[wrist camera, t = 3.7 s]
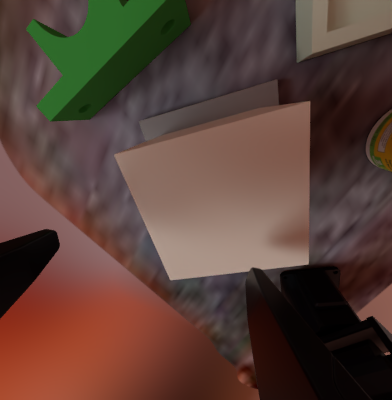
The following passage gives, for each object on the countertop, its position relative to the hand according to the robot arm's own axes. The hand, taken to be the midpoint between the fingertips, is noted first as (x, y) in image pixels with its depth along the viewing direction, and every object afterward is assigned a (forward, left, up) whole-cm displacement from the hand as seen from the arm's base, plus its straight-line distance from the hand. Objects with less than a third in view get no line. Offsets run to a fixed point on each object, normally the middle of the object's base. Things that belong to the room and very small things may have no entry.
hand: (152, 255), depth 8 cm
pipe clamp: (+11, +2, -11) cm, 16 cm away
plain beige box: (+1, -3, -11) cm, 11 cm away
